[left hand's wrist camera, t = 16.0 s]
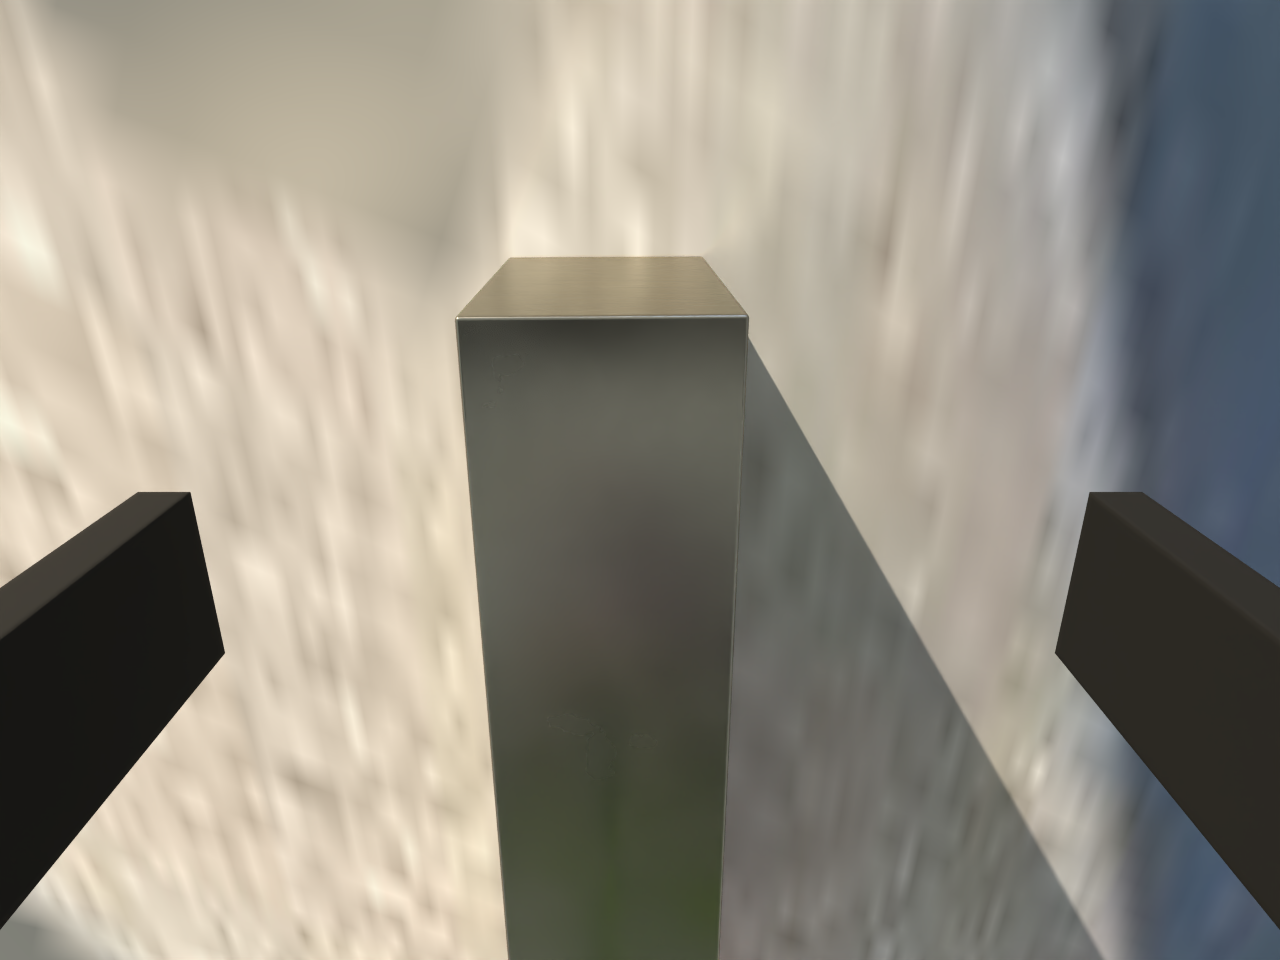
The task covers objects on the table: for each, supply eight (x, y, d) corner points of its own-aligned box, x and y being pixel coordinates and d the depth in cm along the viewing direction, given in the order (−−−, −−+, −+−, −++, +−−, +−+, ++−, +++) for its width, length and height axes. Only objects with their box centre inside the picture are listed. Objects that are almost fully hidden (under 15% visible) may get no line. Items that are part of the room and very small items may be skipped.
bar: (508, 257, 23) (454, 316, 15) (703, 256, 24) (749, 314, 16) (548, 940, 33) (527, 1194, 25) (685, 936, 33) (708, 1188, 25)
